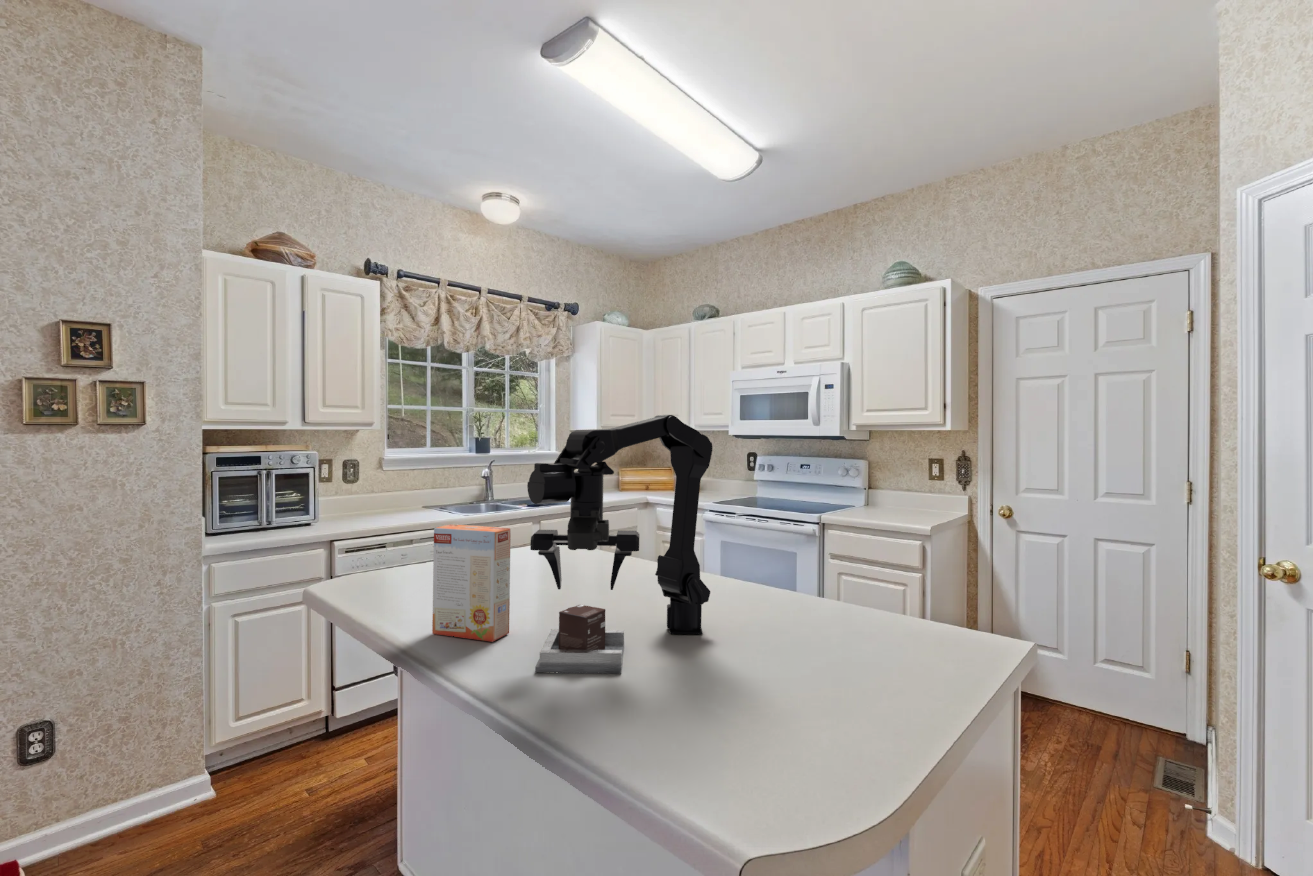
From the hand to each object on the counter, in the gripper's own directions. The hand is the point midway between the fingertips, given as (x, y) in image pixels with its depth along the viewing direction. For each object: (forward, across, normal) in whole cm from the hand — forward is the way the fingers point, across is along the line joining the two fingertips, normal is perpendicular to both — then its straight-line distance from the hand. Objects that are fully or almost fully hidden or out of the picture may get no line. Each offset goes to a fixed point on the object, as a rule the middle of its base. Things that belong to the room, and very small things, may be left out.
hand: (585, 589), depth 106 cm
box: (+11, 0, -1) cm, 11 cm away
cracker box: (+12, -23, +11) cm, 29 cm away
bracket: (+12, 0, -1) cm, 12 cm away
